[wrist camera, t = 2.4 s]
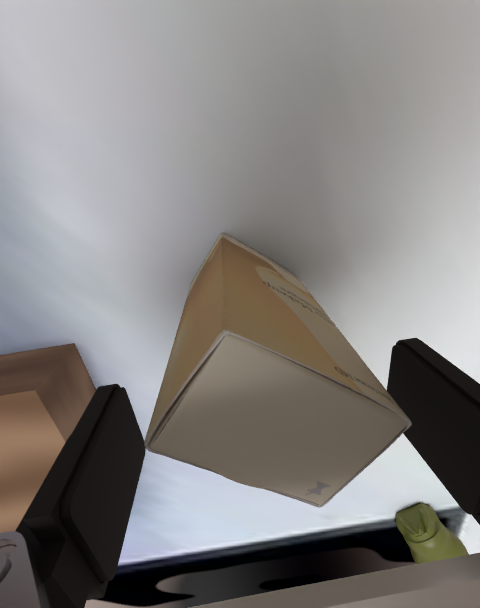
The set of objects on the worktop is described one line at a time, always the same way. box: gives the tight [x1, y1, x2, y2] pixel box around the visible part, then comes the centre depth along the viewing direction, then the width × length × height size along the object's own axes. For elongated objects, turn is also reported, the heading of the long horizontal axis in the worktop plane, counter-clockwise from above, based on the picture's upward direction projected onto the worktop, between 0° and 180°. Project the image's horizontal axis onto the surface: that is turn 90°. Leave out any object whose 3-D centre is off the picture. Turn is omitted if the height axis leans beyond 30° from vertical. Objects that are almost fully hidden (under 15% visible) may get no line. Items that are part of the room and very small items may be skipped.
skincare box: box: [144, 233, 412, 507], centre depth 13 cm, size 6×4×12 cm
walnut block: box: [0, 343, 96, 533], centre depth 20 cm, size 14×14×5 cm
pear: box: [396, 502, 469, 564], centre depth 31 cm, size 6×5×10 cm
